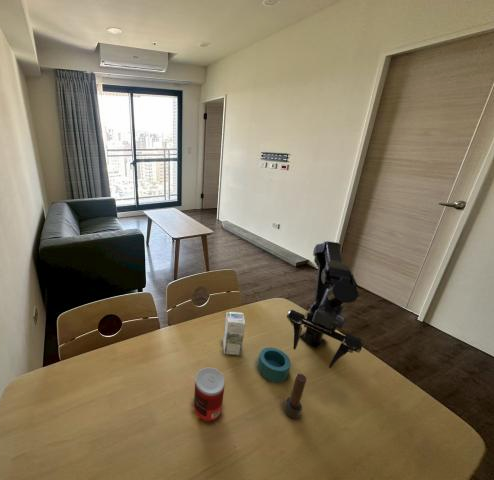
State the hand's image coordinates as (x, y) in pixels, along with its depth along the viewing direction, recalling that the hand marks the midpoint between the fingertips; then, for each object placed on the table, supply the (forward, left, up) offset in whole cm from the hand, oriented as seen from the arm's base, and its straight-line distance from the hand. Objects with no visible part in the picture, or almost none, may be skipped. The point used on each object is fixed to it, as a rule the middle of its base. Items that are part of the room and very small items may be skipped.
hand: (311, 358), depth 70 cm
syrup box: (+7, -23, -14) cm, 27 cm away
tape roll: (+1, -10, -13) cm, 17 cm away
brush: (+7, +2, -13) cm, 16 cm away
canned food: (+27, -10, -14) cm, 32 cm away
